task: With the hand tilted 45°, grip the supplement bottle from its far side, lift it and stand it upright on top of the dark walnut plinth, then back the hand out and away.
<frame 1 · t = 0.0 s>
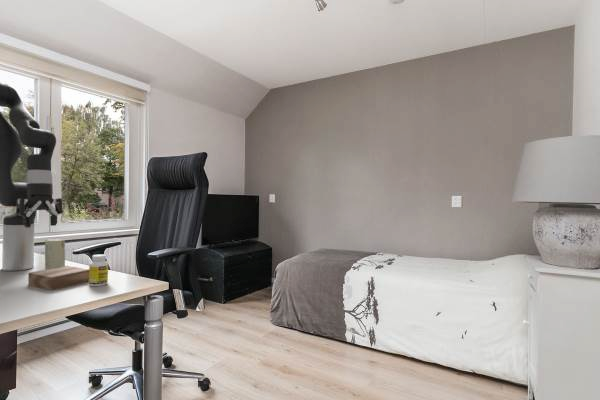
hand: (40, 226, 123), 17 cm above the table, tool pointing down, fingers open, 8 cm apart
supplement bottle: (98, 285, 111), on the table
skincare box: (54, 272, 124), on the table
walnut plinth: (59, 283, 111), on the table
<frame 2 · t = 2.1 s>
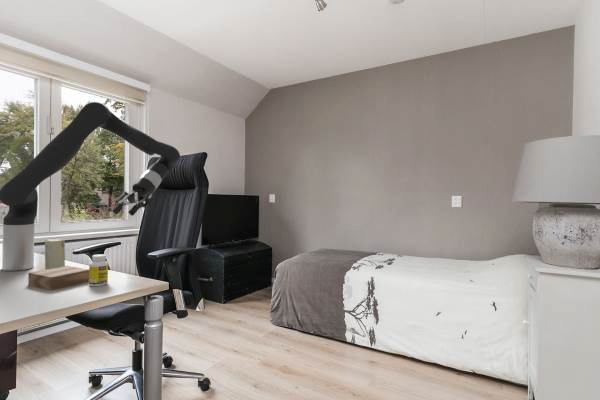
hand: (122, 213, 124), 23 cm above the table, tool tilted 45°, fingers open, 8 cm apart
nothing on the table moved.
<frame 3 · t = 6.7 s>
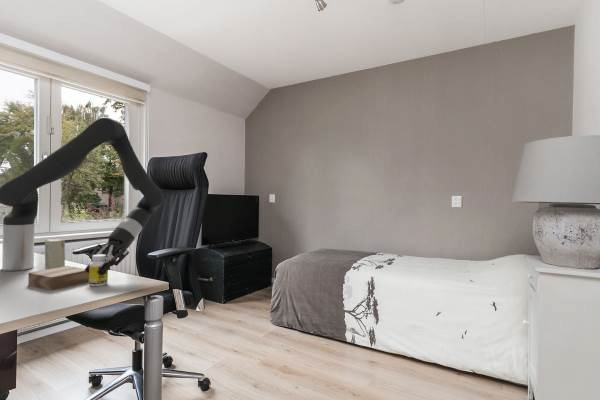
hand: (93, 272, 109), 4 cm above the table, tool tilted 45°, fingers closed on supplement bottle, 5 cm apart
supplement bottle: (98, 284, 111), on the table, touching gripper
everything else where it was.
when the fingers open (10 cm above the table, at t = 13.0 s): supplement bottle drops 1 cm, resting on walnut plinth.
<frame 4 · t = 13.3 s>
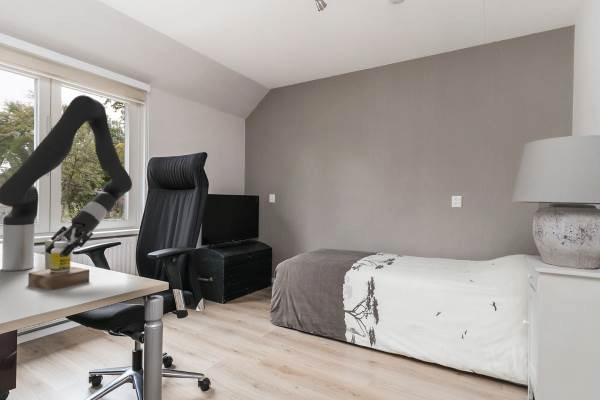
hand: (55, 253, 109), 10 cm above the table, tool tilted 45°, fingers open, 7 cm apart
supplement bottle: (60, 271, 111), point 4 cm above the table, touching walnut plinth
everything else where it was.
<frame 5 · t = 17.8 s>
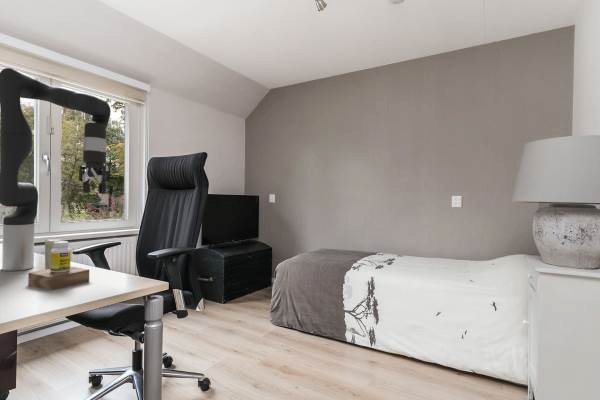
hand: (94, 193, 126), 30 cm above the table, tool pointing down, fingers open, 8 cm apart
nothing on the table moved.
at the end: supplement bottle inside the target area on the walnut plinth (0.2 cm from its centre), point 3.8 cm above the walnut plinth's base; supplement bottle tilted 0°; the gripper is holding nothing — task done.
